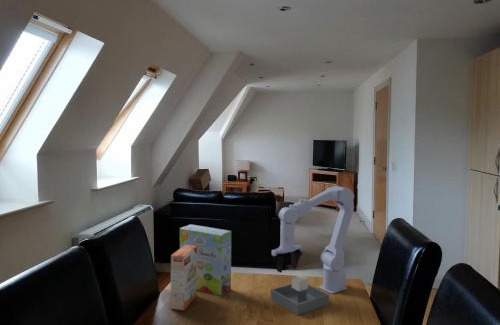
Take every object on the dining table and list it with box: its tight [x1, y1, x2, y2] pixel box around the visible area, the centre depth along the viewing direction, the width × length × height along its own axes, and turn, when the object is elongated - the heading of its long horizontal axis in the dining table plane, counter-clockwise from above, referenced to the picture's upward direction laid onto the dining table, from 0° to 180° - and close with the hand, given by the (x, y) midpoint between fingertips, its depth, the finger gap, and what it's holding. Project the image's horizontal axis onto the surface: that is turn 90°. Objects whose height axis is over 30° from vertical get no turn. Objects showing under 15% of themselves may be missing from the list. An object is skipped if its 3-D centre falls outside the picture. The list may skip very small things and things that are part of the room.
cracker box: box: [170, 245, 198, 311], centre depth 144 cm, size 14×6×21 cm, turn 168°
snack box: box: [179, 224, 232, 297], centre depth 158 cm, size 22×9×26 cm, turn 62°
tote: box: [270, 283, 330, 316], centre depth 147 cm, size 16×16×4 cm
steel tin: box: [290, 287, 307, 303], centre depth 147 cm, size 4×4×5 cm
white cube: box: [291, 274, 309, 291], centre depth 146 cm, size 4×4×4 cm
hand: (286, 269), depth 153 cm, fingers open, 7 cm apart
